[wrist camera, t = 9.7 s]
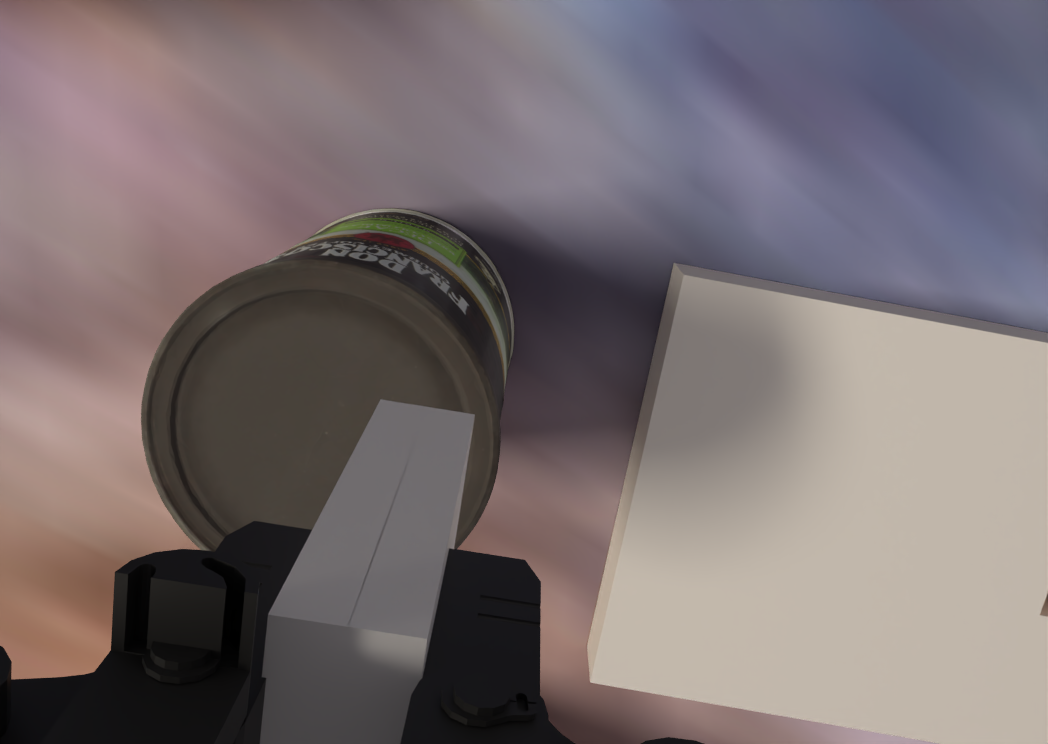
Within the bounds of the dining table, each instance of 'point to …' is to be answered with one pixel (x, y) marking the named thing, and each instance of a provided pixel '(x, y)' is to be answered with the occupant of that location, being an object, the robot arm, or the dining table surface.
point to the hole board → (835, 516)
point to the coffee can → (324, 370)
